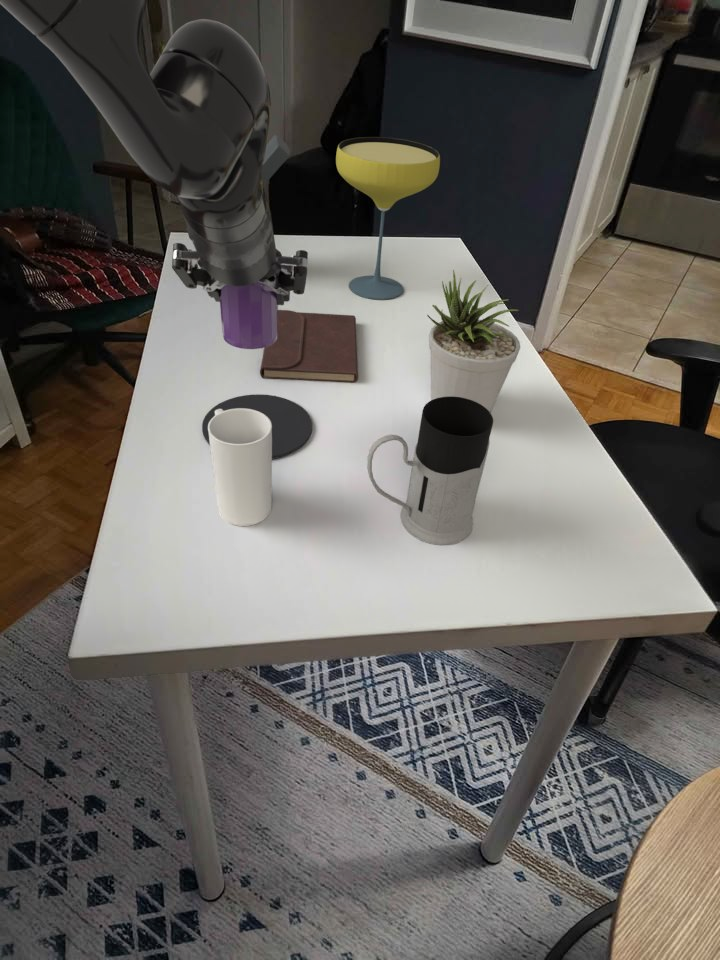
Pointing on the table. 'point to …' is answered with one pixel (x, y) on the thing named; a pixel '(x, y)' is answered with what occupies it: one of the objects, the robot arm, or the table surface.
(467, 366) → the potted plant
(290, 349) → the notebook
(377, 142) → the cocktail glass
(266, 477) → the mug
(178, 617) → the table surface
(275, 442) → the mat
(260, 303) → the cup
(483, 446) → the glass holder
